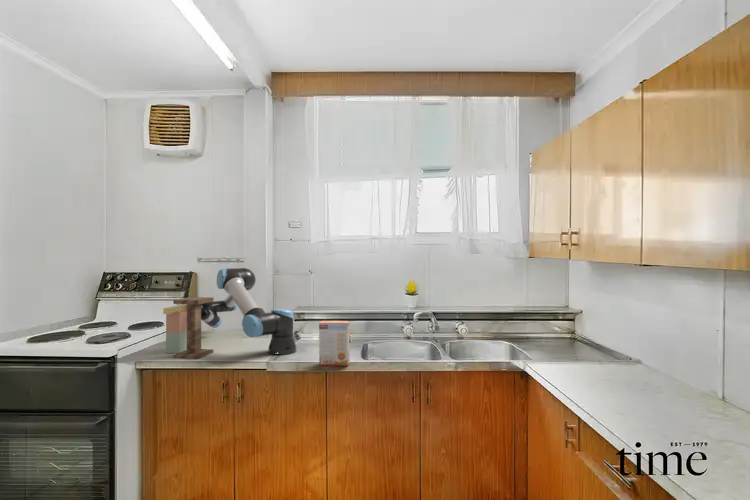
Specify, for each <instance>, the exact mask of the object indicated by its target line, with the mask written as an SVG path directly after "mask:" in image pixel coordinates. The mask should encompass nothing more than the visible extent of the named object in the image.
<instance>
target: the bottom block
mask: <svg viewBox="0 0 750 500" xmlns="http://www.w3.org/2000/svg"><path fill="white" fill-rule="evenodd" d="M185 350H187V331H185V332H181V333H166V332H165V353H166V354H177V353H180V352H183V351H185Z"/></svg>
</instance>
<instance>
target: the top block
mask: <svg viewBox="0 0 750 500" xmlns="http://www.w3.org/2000/svg"><path fill="white" fill-rule="evenodd" d="M165 317H166V318H165V334H166V333H181V332H185V331H187V310H186V311H182V312H177V313H173V314H165Z"/></svg>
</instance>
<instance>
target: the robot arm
mask: <svg viewBox="0 0 750 500" xmlns="http://www.w3.org/2000/svg"><path fill="white" fill-rule="evenodd" d="M256 279H257V278H256V275H255V273H254V272H253V271H252V270H251V269H249V268H245V267H242V268H241V267H240V268H239V267H238V268H237V267H236V268H235V267H234V268H232V267H230V268H221V269H220V270H218V272H217V274H216V286H217V288H218V289H219V290H224V291H225V292H226V294H228V295H227V296H226V298H224V300H215V301H212V302H207V303H202V304H201V322H204V323H205V324H206V325H208V326H209V327H211V328H213V329H215V328H218V327H220V326H221V324H222V319H221V317H220V316H219V315H218V313H226V312H227V313H228V312H233V311H236V310H237V308H239V311H240V312H241V314H242V315H243V316H242V320H241V327H242V330H243V332H244V334H245V335H246V336H247V337H250V338H259V337H264V336H270V335H271V339H270V342H269V346H268V351H267V352H268V354H270V355H274V354H275V353H277V352H278V353H279V354H280V355H279V356H282V355H290V354H294V353H296V352H297V344H296V342H295V338H294V313H293V311H292V310H290V309H283V308H281V309H280V308H272V309H271V310H270V312H266V311H265V310H264V308H263V307H259V306H258V305H257V304H256V302H255V300H254V298H252V296H251V294H250V292H249V291H250V290H252V289H253V287H254V286H255V285H256ZM177 299H178V298H175V299H174V300H177ZM178 305H182V304H175V306H178Z"/></svg>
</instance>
